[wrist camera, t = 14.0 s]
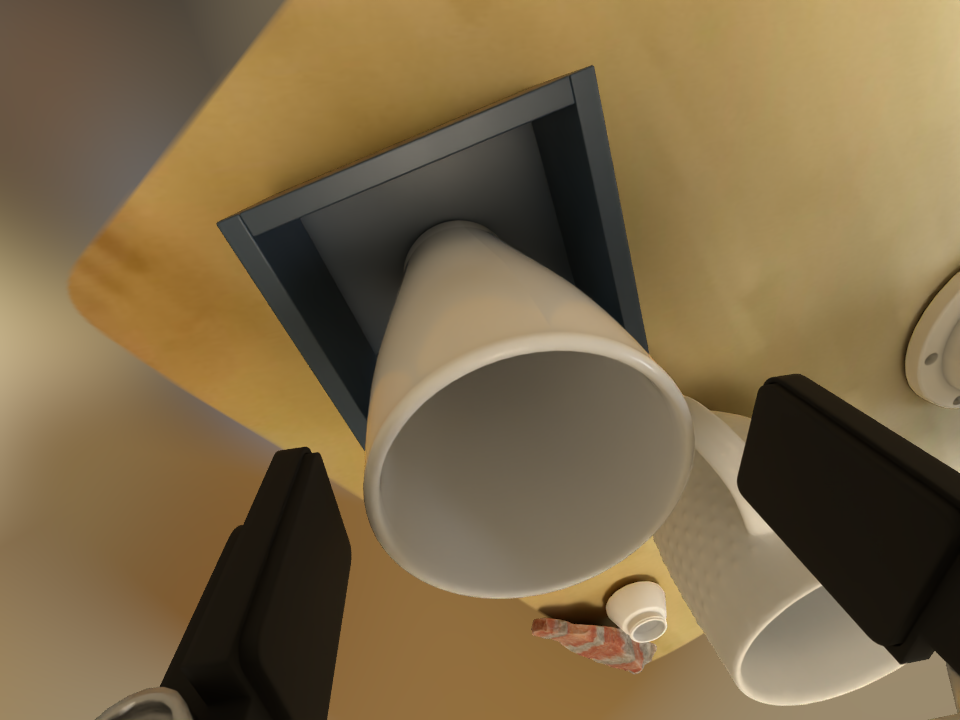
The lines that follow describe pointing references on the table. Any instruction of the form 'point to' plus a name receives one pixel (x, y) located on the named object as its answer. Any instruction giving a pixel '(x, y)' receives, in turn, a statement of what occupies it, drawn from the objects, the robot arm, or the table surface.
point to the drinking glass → (514, 425)
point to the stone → (597, 643)
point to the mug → (757, 584)
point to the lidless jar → (639, 610)
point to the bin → (428, 202)
